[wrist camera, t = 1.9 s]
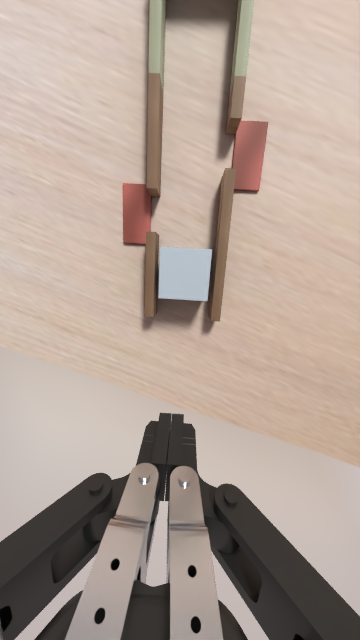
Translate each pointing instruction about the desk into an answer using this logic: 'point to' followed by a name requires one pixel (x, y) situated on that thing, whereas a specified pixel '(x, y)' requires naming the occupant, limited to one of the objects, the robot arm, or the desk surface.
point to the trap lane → (237, 178)
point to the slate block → (184, 273)
